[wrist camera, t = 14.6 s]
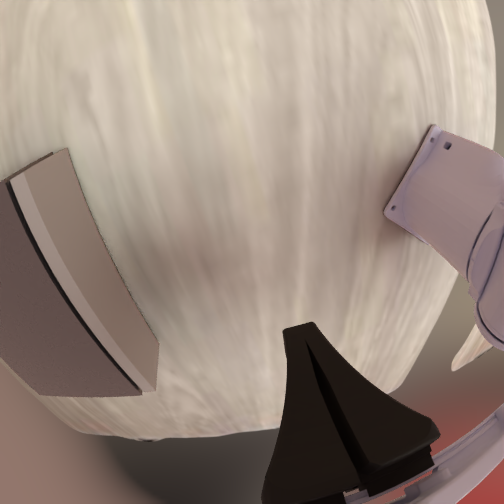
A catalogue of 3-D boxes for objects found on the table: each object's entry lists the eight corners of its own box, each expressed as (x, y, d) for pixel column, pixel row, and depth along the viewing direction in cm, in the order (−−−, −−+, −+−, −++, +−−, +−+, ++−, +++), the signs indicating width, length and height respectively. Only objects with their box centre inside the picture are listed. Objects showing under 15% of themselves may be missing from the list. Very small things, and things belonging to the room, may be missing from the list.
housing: (52, 355, 25) (39, 394, 20) (-39, 211, 14) (-74, 244, 9) (147, 344, 25) (142, 395, 20) (52, 151, 14) (3, 179, 9)
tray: (70, 353, 25) (58, 393, 20) (-24, 202, 14) (-61, 233, 9) (159, 343, 25) (155, 391, 21) (67, 147, 14) (23, 171, 10)
